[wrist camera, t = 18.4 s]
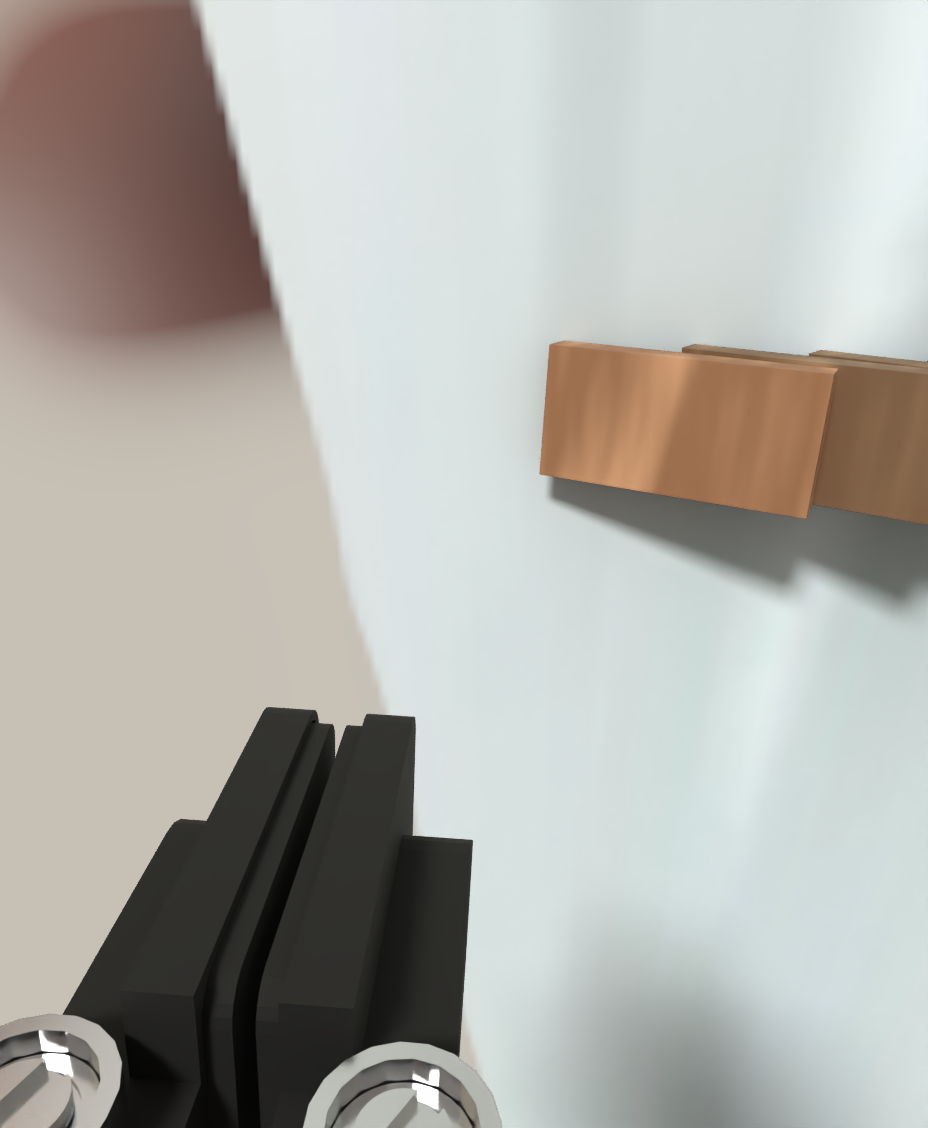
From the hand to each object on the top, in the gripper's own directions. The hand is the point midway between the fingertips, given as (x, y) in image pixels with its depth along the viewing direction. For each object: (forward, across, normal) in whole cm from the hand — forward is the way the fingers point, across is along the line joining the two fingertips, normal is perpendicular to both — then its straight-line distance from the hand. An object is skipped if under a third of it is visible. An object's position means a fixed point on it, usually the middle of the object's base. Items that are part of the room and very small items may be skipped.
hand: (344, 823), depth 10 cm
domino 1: (+26, -3, 0) cm, 27 cm away
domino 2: (+26, -8, 0) cm, 28 cm away
